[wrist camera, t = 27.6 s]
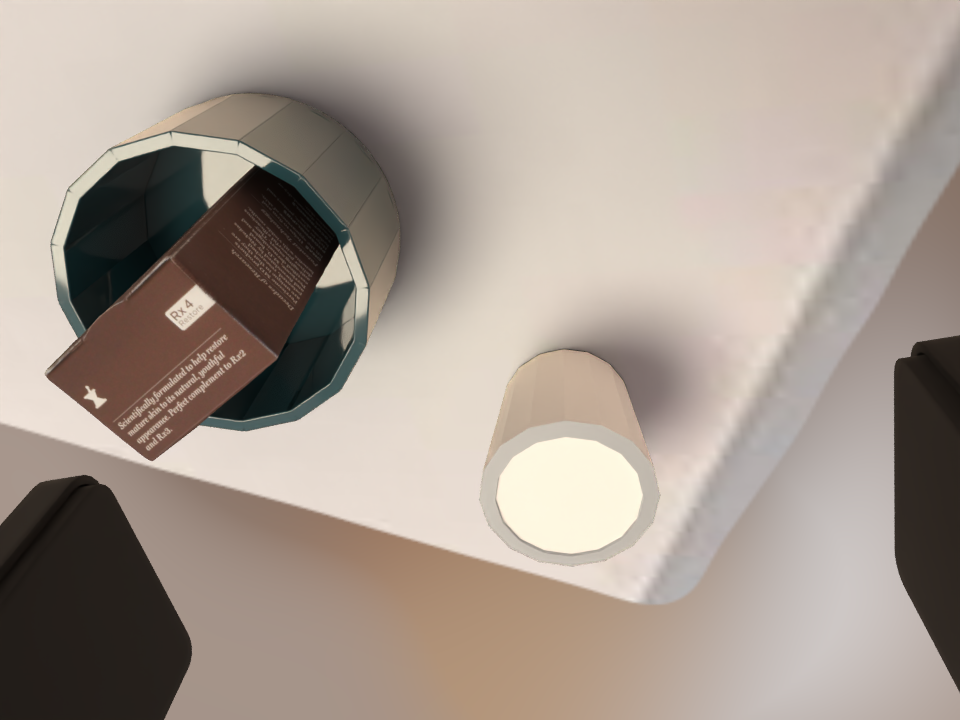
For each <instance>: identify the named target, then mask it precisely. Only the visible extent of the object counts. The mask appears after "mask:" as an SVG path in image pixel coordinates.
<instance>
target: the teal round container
mask: <svg viewBox="0 0 960 720" xmlns="http://www.w3.org/2000/svg"><path fill="white" fill-rule="evenodd" d="M255 165H256V166H258V167H260V168H261V169H263V170H265V171H267V172H269V173H270V174H272V175H274V176H276V177H278V178H280V179H281V180H283V181H285V182H287V183H289V184H291V185H292V186H294V187H295V188H296V189H297V191H298V192H299V193H300V194H301V195H302V196H303V197H304V198H305V200H306V201H307V202H308V203H309V204H310V205H311V206H312V208H313V209H314V210H315V211H316V212H317V213H318V214H319V216H320V217H321V218H322V219H323V220H324V221H325V222H326V223H327V225H328V226H329V227H330V228H331V229H332V230H333V231H334V233H335V234H336V236H337V239H338V242H339V246H338V248H337V250H336V251H335V253H334V255H333V257H332V259H331V261H330V263H329V264H328V265H327V267H326V269H325V271H324V273H323V275H322V276H321V278H320V280H319V282H318V283H317V285H316V287H315V289H314V291H313V293H312V294H311V296H310V298H309V300H308V302H307V304H306V306H305V308H304V310H303V311H302V313H301V315H300V317H299V318H298V320H297V322H296V324H295V326H294V327H293V329H292V331H291V333H290V335H289V336H288V338H287V341H286V343H285V344H284V346H283V348H282V350H281V352H280V354H279V356H278V358H277V360H276V361H275V362H273V363H272V364H271V365H270V366H268V367H267V368H266V369H265V370H264V371H263V372H262V373H261V374H259V375H258V376H257V377H256V378H255V379H253V380H252V381H251V382H250V383H249V384H248V385H247V386H245V387H244V388H243V389H242V390H240V391H239V392H238V393H237V394H236V395H234V396H233V397H232V398H231V399H229V400H228V401H227V402H226V403H224V404H223V405H222V406H221V407H220V408H218V409H217V410H216V411H215V412H214V413H212V414H211V415H210V416H209V417H208V418H207V419H205V420H204V421H203V422H202V423H201V424H200V425H201V426H208V427H216V428H223V429H230V430H237V431H250V430H254V429H259V428H264V427H269V426H274V425H278V424H283V423H288V422H293V421H297V420H299V419H301V418H302V417H304V416H305V415H306V414H308V413H309V412H311V411H312V410H314V409H315V408H317V407H318V406H319V405H321V404H322V403H324V402H325V401H327V400H328V399H329V398H331V397H332V396H334V395H335V394H337V393H338V392H339V391H340V390H341V389H342V388H343V386H344V384H345V383H346V381H347V379H348V377H349V375H350V374H351V372H352V370H353V368H354V367H355V365H356V363H357V361H358V359H359V358H360V356H361V354H362V352H363V351H364V349H365V347H366V345H367V343H368V340H369V338H370V336H371V333H372V331H373V329H374V326H375V324H376V322H377V319H378V317H379V315H380V312H381V310H382V308H383V305H384V303H385V301H386V298H387V296H388V294H389V291H390V289H391V287H392V284H393V282H394V280H395V277H396V271H397V264H398V259H399V252H400V224H399V216H398V211H397V207H396V204H395V200H394V196H393V194H392V191H391V189H390V186H389V184H388V181H387V179H386V178H385V176H384V174H383V172H382V170H381V169H380V167H379V165H378V164H377V162H376V161H375V159H374V158H373V157H372V155H371V154H370V153H369V151H368V150H367V149H366V148H365V147H364V145H363V144H362V143H361V142H360V141H359V140H358V139H357V138H356V137H355V136H354V135H353V134H352V133H351V132H349V131H348V130H347V129H346V128H345V127H344V126H342V125H341V124H340V123H339V122H337V121H336V120H334V119H332V118H331V117H329V116H328V115H326V114H325V113H323V112H321V111H319V110H317V109H315V108H313V107H311V106H309V105H307V104H304V103H301V102H299V101H296V100H293V99H290V98H286V97H281V96H276V95H271V94H260V93H243V94H240V93H238V94H232V95H227V96H223V97H218V98H215V99H212V100H209V101H207V102H204V103H201V104H198V105H195V106H192V107H188V108H186V109H184V110H182V111H180V112H178V113H176V114H174V115H172V116H170V117H169V118H167V119H165V120H163V121H161V122H159V123H157V124H155V125H153V126H151V127H150V128H148V129H146V130H144V131H142V132H140V133H138V134H136V135H134V136H132V137H131V138H129V139H127V140H125V141H123V142H121V143H119V144H117V145H115V146H113V147H112V148H110V149H108V150H107V151H106V152H105V153H104V154H103V155H102V156H101V157H100V158H99V159H98V160H97V161H96V162H95V163H94V164H93V165H92V166H91V167H89V168H88V169H87V170H86V171H85V172H84V173H83V174H82V175H81V176H80V177H79V178H78V179H77V180H76V181H75V182H74V183H73V184H72V185H71V186H70V187H69V188H68V190H67V192H66V196H65V199H64V202H63V205H62V208H61V211H60V214H59V217H58V221H57V224H56V227H55V230H54V233H53V236H52V239H51V253H52V260H53V268H54V275H55V283H56V290H57V298H58V301H59V304H60V306H61V308H62V310H63V312H64V313H65V315H66V317H67V319H68V321H69V323H70V324H71V326H72V328H73V330H74V332H75V333H76V335H77V337H78V338H79V337H80V336H81V335H82V334H83V333H84V332H85V331H86V330H87V329H88V328H89V327H90V326H91V325H92V324H93V323H94V322H95V321H96V320H97V318H98V317H99V316H101V315H102V314H103V313H104V312H105V311H106V310H107V309H108V308H109V307H110V306H111V305H112V304H113V303H114V302H115V301H116V300H117V299H118V298H119V297H121V296H122V295H123V294H124V293H125V292H126V291H127V290H128V289H129V288H130V287H131V286H132V285H133V283H135V282H136V281H137V280H138V279H139V278H140V277H141V276H142V275H143V274H144V273H145V272H146V271H147V270H148V269H149V268H150V267H151V266H152V265H153V264H154V263H155V262H156V261H157V260H158V259H159V258H160V257H161V256H162V255H163V254H164V253H165V252H166V251H167V250H168V249H169V248H170V247H171V246H172V245H173V244H174V243H175V242H176V241H177V240H178V239H179V238H180V237H181V236H182V235H183V234H184V233H185V232H186V231H187V230H188V229H189V228H190V227H191V226H192V225H193V224H194V223H195V222H196V221H197V220H198V219H199V218H200V217H201V216H202V215H203V214H204V213H205V212H206V211H207V210H208V209H209V208H210V207H211V206H212V205H213V204H214V203H215V202H216V201H217V200H218V199H220V198H221V197H222V196H223V195H224V194H225V193H226V192H227V191H228V190H229V189H230V188H231V187H232V186H233V185H234V184H235V183H236V182H237V181H238V180H239V179H240V178H241V177H243V176H244V175H245V174H246V173H247V172H248V171H249V170H250V169H251V168H252V167H254V166H255Z"/></svg>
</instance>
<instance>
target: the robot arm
mask: <svg viewBox="0 0 960 720" xmlns="http://www.w3.org/2000/svg"><path fill="white" fill-rule="evenodd" d="M894 447H895V448H894V451H895V452H894V455H895V456H894V460H895V461H894V463H895V465H894V469H895V470H894V472H895V474H894V476H895V480H894V482H895V483H894V485H895V558H896V564H897V568H898V571H899V575H900V577H901V580H902V582H903V585H904V587H905V589H906V591H907V593H908V595H909V597H910V599H911V600H912V602H913V604H914V606H915V608H916V610H917V612H918V614H919V616H920V618H921V619H922V621H923V623H924V625H925V627H926V629H927V631H928V633H929V635H930V637H931V639H932V640H933V642H934V644H935V646H936V648H937V650H938V652H939V654H940V656H941V657H942V660H943V661H944V663H945V665H946V667H947V669H948V671H949V673H950V675H951V676H952V679H953V680H954V682H955V684H956V686H957V688H958V690H959V691H960V335H959V336H953V337H948V338H940V339H934V340H928V341H922V342H917V343H916V344H915V345H914V346H913V348H912V352H911V357H907V358H901V359H898V360H897V361H896V364H895V371H894ZM191 656H192V646H191V640H190V637H189V635H188V633H187V631H186V629H185V627H184V625H183V623H182V622H181V620H180V618H179V616H178V614H177V612H176V610H175V609H174V606H173V605H172V603H171V601H170V599H169V597H168V595H167V594H166V591H165V590H164V588H163V586H162V584H161V582H160V580H159V578H158V576H157V575H156V573H155V571H154V569H153V567H152V565H151V563H150V561H149V559H148V558H147V556H146V554H145V552H144V550H143V548H142V546H141V544H140V543H139V541H138V539H137V537H136V535H135V533H134V531H133V529H132V528H131V526H130V524H129V522H128V520H127V518H126V516H125V514H124V512H123V511H122V509H121V507H120V505H119V503H118V502H117V499H116V498H115V496H114V494H113V492H112V491H111V490H110V488H108V487H107V486H106V485H102V484H99V483H98V481H97V480H95V479H94V478H93V477H91V476H87V475H82V476H75V477H69V478H62V479H57V480H50V481H45V482H41V483H39V484H38V485H37V486H35V487H34V488H33V489H32V490H31V491H30V492H29V494H28V495H27V496H26V497H25V498H24V499H23V500H22V501H21V503H20V504H19V505H18V506H17V507H16V508H15V509H14V510H13V512H12V513H11V514H10V515H9V516H8V517H7V518H6V519H5V521H4V522H3V523H2V524H1V525H0V720H164V718H165V716H166V714H167V712H168V710H169V708H170V705H171V704H172V701H173V699H174V697H175V695H176V693H177V691H178V689H179V687H180V684H181V682H182V680H183V678H184V676H185V674H186V672H187V670H188V667H189V665H190V662H191Z"/></svg>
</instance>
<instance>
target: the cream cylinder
mask: <svg viewBox="0 0 960 720" xmlns="http://www.w3.org/2000/svg"><path fill="white" fill-rule="evenodd" d="M659 498H660V492H659V487H658V483H657V479H656V475H655V471H654V466H653V464H652V461H651V458H650V455H649V452H648V449H647V446H646V444H645V441H644V438H643V435H642V432H641V429H640V426H639V424H638V421H637V418H636V415H635V412H634V409H633V406H632V404H631V401H630V398H629V395H628V392H627V389H626V386H625V384H624V381H623V380H622V379H621V377H620V376H619V375H618V374H617V373H616V371H615V370H614V369H613V368H612V366H611V365H610V364H609V363H607V362H605V361H603V360H601V359H599V358H598V357H596V356H594V355H592V354H590V353H588V352H580V351H573V350H565V349H562V350H558V351H553V352H549V353H544V354H540V355H538V356H536V357H535V358H533V359H532V360H530V361H529V362H527V363H525V364H524V365H522V366H521V367H519V369H518V370H517V372H516V373H515V375H514V376H513V378H512V379H511V381H510V382H509V384H508V385H507V388H506V391H505V395H504V398H503V402H502V405H501V409H500V412H499V416H498V419H497V423H496V426H495V430H494V434H493V437H492V441H491V444H490V448H489V451H488V455H487V458H486V462H485V465H484V469H483V474H482V481H481V489H480V496H479V501H480V503H481V506H482V509H483V512H484V515H485V517H486V520H487V523H488V526H489V527H490V528H491V529H492V530H493V531H494V532H495V533H496V534H497V535H498V537H499V538H500V539H501V540H502V541H503V542H504V543H505V544H506V545H507V546H508V547H509V548H511V549H513V550H515V551H517V552H519V553H521V554H523V555H525V556H527V557H529V558H531V559H533V560H536V561H538V562H542V563H550V564H557V565H564V566H578V565H584V564H590V563H596V562H602V561H606V560H608V559H610V558H611V557H613V556H615V555H617V554H619V553H621V552H623V551H624V550H626V549H628V548H630V547H632V546H634V544H635V543H636V542H637V541H638V540H639V539H640V537H641V536H642V535H643V534H644V533H645V531H646V530H647V529H648V528H649V527H650V526H651V524H652V523H653V521H654V517H655V513H656V509H657V505H658V502H659Z"/></svg>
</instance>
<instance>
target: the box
mask: <svg viewBox="0 0 960 720" xmlns="http://www.w3.org/2000/svg"><path fill="white" fill-rule="evenodd" d="M338 246H339V242H338V239H337V236H336V234H335V233H334V231H333V230H332V229H331V228H330V227H329V226H328V225H327V223H326V222H325V221H324V220H323V219H322V218H321V217H320V216H319V214H318V213H317V212H316V211H315V210H314V209H313V208H312V206H311V205H310V204H309V203H308V202H307V201H306V200H305V198H304V197H303V196H302V195H301V194H300V193H299V192H298V191H297V189H296V188H295V187H294V186H292V185H291V184H289V183H287V182H285V181H283V180H281V179H280V178H278V177H276V176H274V175H272V174H270V173H269V172H267V171H265V170H263V169H261V168H260V167H258V166H256V165H255V166H254V167H252V168H251V169H250V170H249V171H248V172H247V173H246V174H245V175H244V176H243V177H241V178H240V179H239V180H238V181H237V182H236V183H235V184H234V185H233V186H232V187H231V188H230V189H229V190H228V191H227V192H226V193H225V194H224V195H223V196H222V197H221V198H220V199H218V200H217V201H216V202H215V203H214V204H213V205H212V206H211V207H210V208H209V209H208V210H207V211H206V212H205V213H204V214H203V215H202V216H201V217H200V218H199V219H198V220H197V221H196V222H195V223H194V224H193V225H192V226H191V227H190V228H189V229H188V230H187V231H186V232H185V233H184V234H183V235H182V236H181V237H180V238H179V239H178V240H177V241H176V242H175V243H174V244H173V245H172V246H171V247H170V248H169V249H168V250H167V251H166V252H165V253H164V254H163V255H162V256H161V257H160V258H159V259H158V260H157V261H156V262H155V263H154V264H153V265H152V266H151V267H150V268H149V269H148V270H147V271H146V272H145V273H144V274H143V275H142V276H141V277H140V278H139V279H138V280H137V281H136V282H135V283H133V285H132V286H131V287H130V288H129V289H128V290H127V291H126V292H125V293H124V294H123V295H122V296H121V297H119V298H118V299H117V300H116V301H115V302H114V303H113V304H112V305H111V306H110V307H109V308H108V309H107V310H106V311H105V312H104V313H103V314H102V315H101V316H99V317H98V318H97V320H96V321H95V322H94V323H93V324H92V325H91V326H90V327H89V328H88V329H87V330H86V331H85V332H84V333H83V334H82V335H81V336H80V337H79V338H78V339H77V340H76V341H75V342H74V343H73V344H72V345H71V346H70V347H69V348H68V349H67V350H66V351H65V352H64V353H63V354H62V355H61V356H60V357H59V358H58V359H57V360H56V361H55V362H54V363H53V364H52V365H51V366H50V367H49V368H48V369H47V370H46V372H45V376H46V377H47V378H48V379H49V380H50V381H51V382H52V383H54V384H55V385H56V386H57V387H59V388H60V389H61V390H62V391H64V392H65V393H66V394H67V395H69V396H70V397H71V398H72V399H74V400H75V401H76V402H77V403H79V404H80V405H81V406H82V407H84V408H85V409H86V410H87V411H88V412H90V413H91V414H92V415H93V416H94V417H96V418H97V419H98V420H99V421H100V422H102V423H103V424H104V425H105V426H106V427H108V428H109V429H110V430H111V431H112V432H114V433H115V434H116V435H117V436H119V437H120V438H121V439H122V440H123V441H125V442H126V443H127V444H128V445H130V446H131V447H132V448H133V449H135V450H136V451H137V452H139V453H140V454H141V455H142V456H144V457H145V458H146V459H148V460H150V461H153V460H155V459H156V458H157V457H159V456H160V455H161V454H162V453H164V452H165V451H166V450H168V449H169V448H170V447H172V446H173V445H174V444H175V443H177V442H178V441H179V440H181V439H182V438H183V437H185V436H186V435H187V434H189V433H190V432H191V431H192V430H194V429H195V428H196V427H197V426H199V425H200V424H201V423H202V422H203V421H204V420H205V419H207V418H208V417H209V416H210V415H211V414H212V413H214V412H215V411H216V410H217V409H218V408H220V407H221V406H222V405H223V404H224V403H226V402H227V401H228V400H229V399H231V398H232V397H233V396H234V395H236V394H237V393H238V392H239V391H240V390H242V389H243V388H244V387H245V386H247V385H248V384H249V383H250V382H251V381H252V380H253V379H255V378H256V377H257V376H258V375H259V374H261V373H262V372H263V371H264V370H265V369H266V368H267V367H268V366H270V365H271V364H272V363H273V362H275V361H276V360H277V358H278V356H279V354H280V352H281V350H282V348H283V346H284V344H285V343H286V341H287V338H288V336H289V335H290V333H291V331H292V329H293V327H294V326H295V324H296V322H297V320H298V318H299V317H300V315H301V313H302V311H303V310H304V308H305V306H306V304H307V302H308V300H309V298H310V296H311V294H312V293H313V291H314V289H315V287H316V285H317V283H318V282H319V280H320V278H321V276H322V275H323V273H324V271H325V269H326V267H327V265H328V264H329V263H330V261H331V259H332V257H333V255H334V253H335V251H336V250H337V248H338Z"/></svg>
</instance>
